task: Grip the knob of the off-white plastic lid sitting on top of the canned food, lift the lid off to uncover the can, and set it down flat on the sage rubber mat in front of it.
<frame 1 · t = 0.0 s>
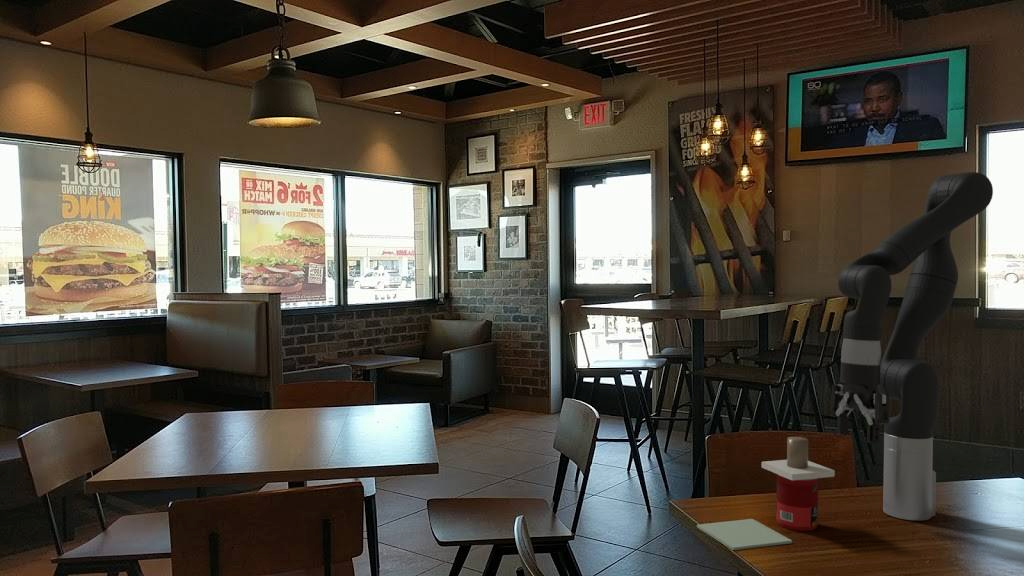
hand: (857, 438, 158), 17 cm above the table, tool pointing down, fingers open, 8 cm apart
mat: (743, 534, 149), on the table
canned food: (796, 525, 155), on the table, touching lid
lid: (797, 471, 155), point 11 cm above the table, touching canned food
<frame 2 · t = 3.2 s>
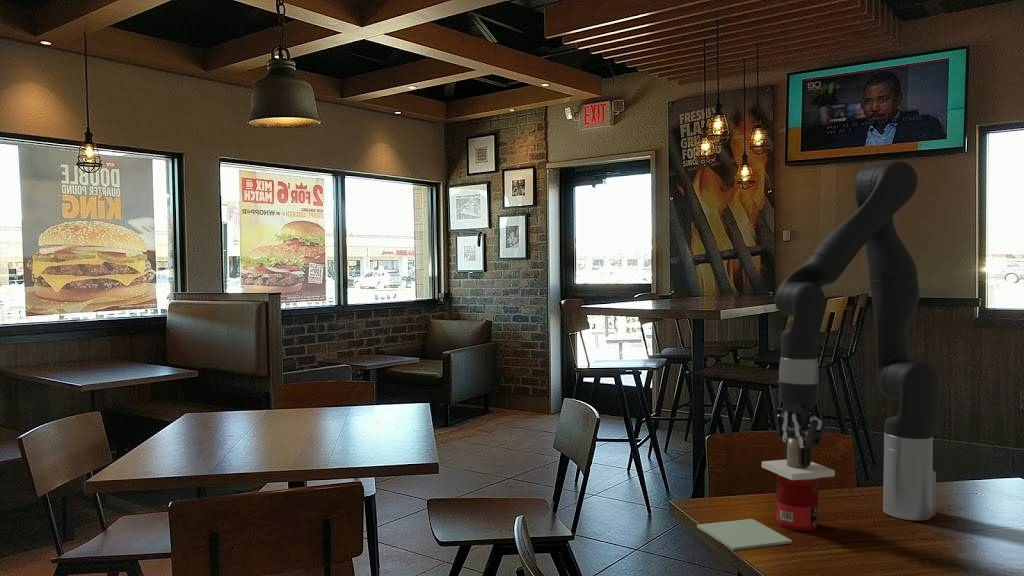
hand: (797, 462, 155), 13 cm above the table, tool pointing down, fingers closed on lid, 4 cm apart
lid: (797, 471, 155), point 11 cm above the table, touching canned food, gripper
everything else where it was.
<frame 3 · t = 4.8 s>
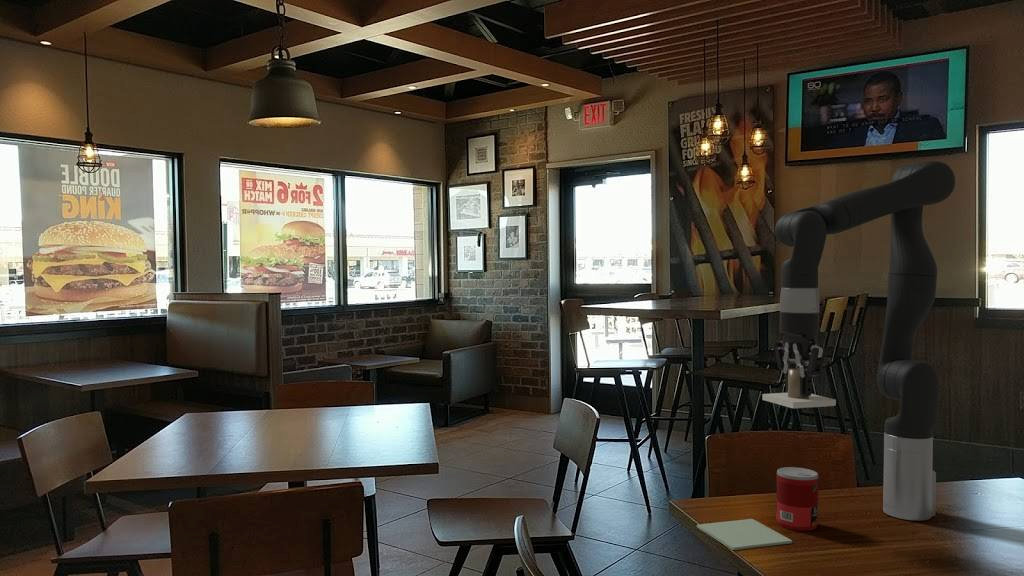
hand: (798, 393, 154), 27 cm above the table, tool pointing down, fingers closed on lid, 4 cm apart
canned food: (796, 525, 155), on the table
lid: (798, 402, 154), point 25 cm above the table, touching gripper
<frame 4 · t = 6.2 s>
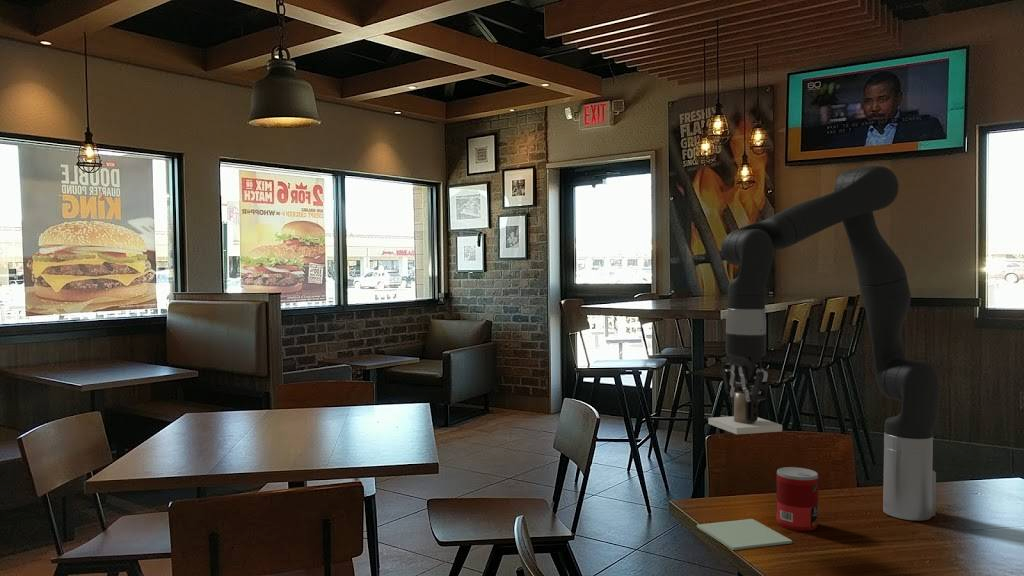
hand: (744, 418, 149), 23 cm above the table, tool pointing down, fingers closed on lid, 4 cm apart
lid: (744, 427, 149), point 21 cm above the table, touching gripper
everything else where it was.
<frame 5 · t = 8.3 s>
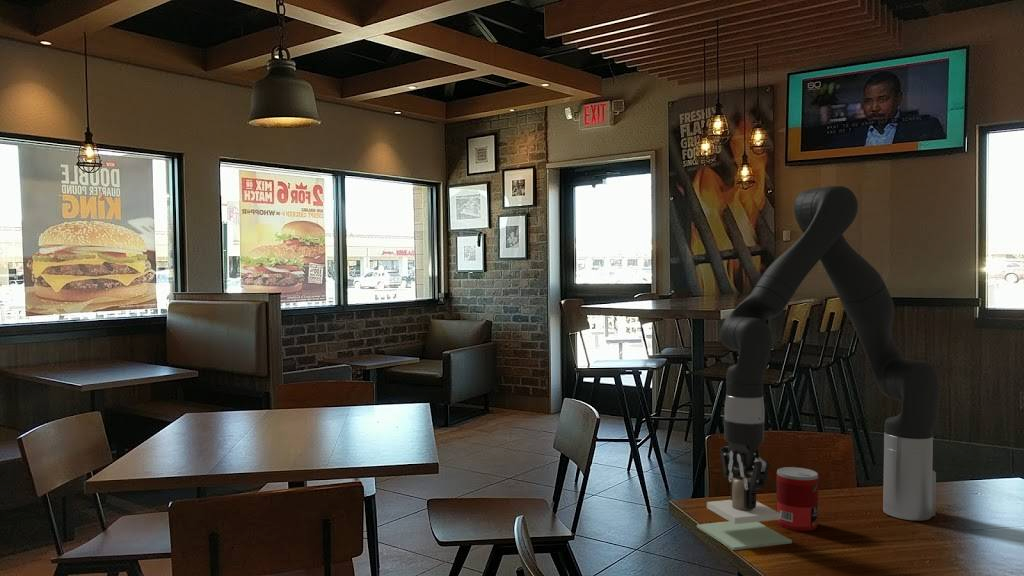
hand: (742, 504, 149), 6 cm above the table, tool pointing down, fingers closed on lid, 4 cm apart
lid: (742, 513, 149), point 4 cm above the table, touching gripper
everything else where it was.
when the fingers open (4 cm above the table, at t = 9.6 s): lid drops 1 cm, resting on mat.
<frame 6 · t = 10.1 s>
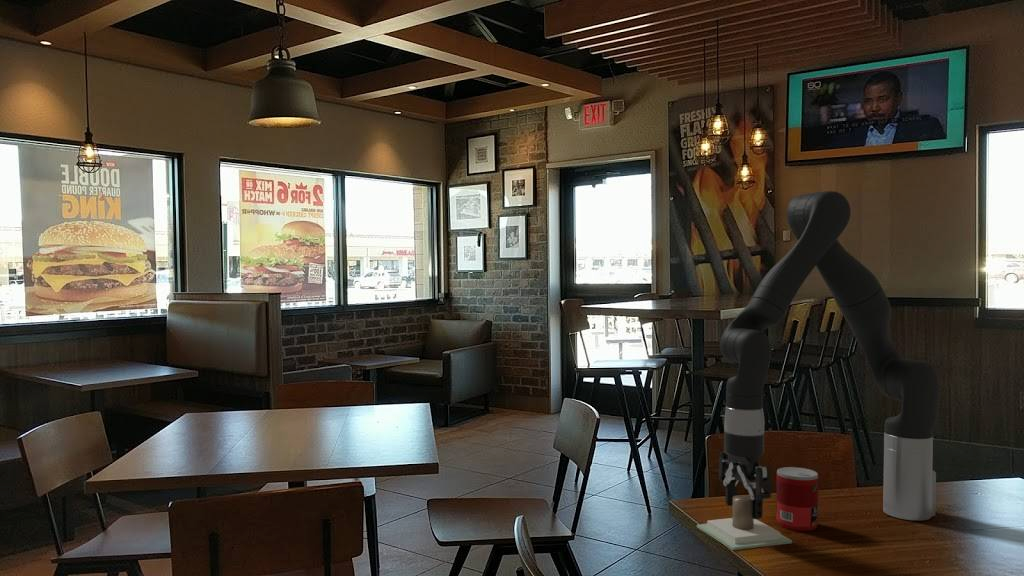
hand: (743, 511, 149), 5 cm above the table, tool pointing down, fingers open, 8 cm apart
lid: (742, 532, 149), resting on mat
everything else where it was.
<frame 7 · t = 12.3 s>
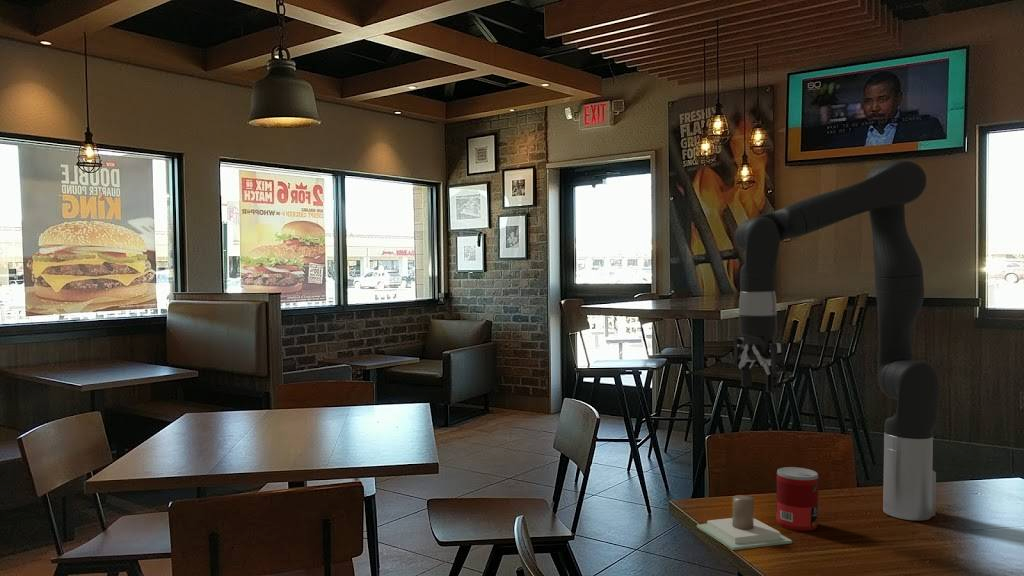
hand: (758, 389, 160), 27 cm above the table, tool pointing down, fingers open, 8 cm apart
nothing on the table moved.
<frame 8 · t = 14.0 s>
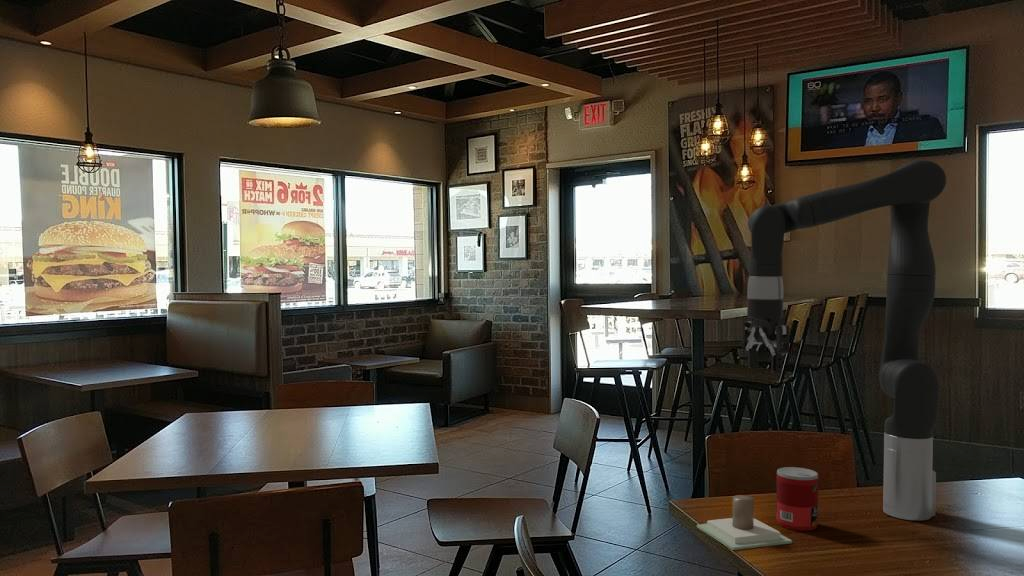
hand: (764, 370, 167), 30 cm above the table, tool pointing down, fingers open, 8 cm apart
nothing on the table moved.
at the end: lid inside the target area on the mat (0.0 cm from its centre), point 0.5 cm above the mat's base; lid touching mat; canned food moved 0.2 cm from its start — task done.
